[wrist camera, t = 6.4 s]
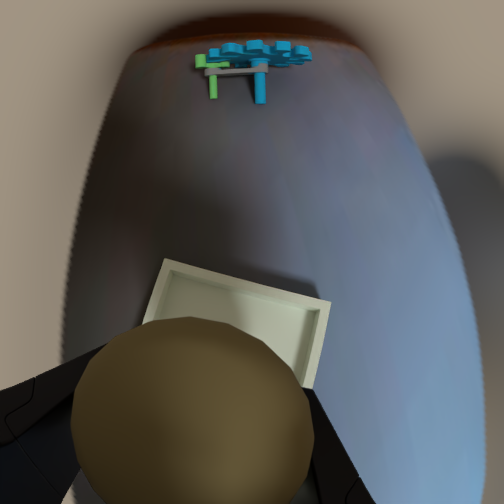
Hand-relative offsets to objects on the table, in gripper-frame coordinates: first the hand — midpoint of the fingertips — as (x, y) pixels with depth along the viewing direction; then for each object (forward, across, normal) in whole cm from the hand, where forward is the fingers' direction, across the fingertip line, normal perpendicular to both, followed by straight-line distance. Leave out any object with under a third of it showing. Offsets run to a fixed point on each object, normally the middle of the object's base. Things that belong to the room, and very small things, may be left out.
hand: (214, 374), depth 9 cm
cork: (+4, 0, +6) cm, 7 cm away
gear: (+26, +5, -10) cm, 29 cm away
